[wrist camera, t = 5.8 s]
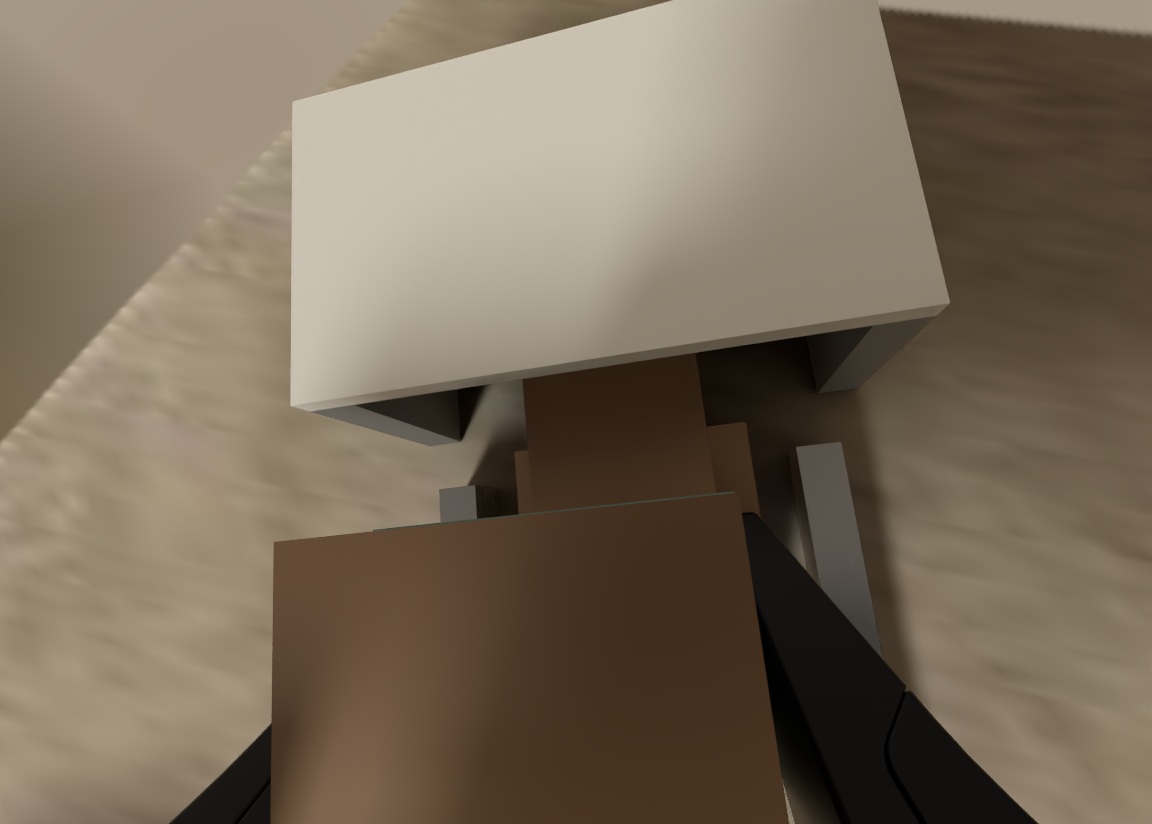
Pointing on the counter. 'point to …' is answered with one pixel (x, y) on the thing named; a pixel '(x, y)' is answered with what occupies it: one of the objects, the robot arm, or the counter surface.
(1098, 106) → the counter surface
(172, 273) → the counter surface
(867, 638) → the rails
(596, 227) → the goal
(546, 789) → the teal-banded wooden block
